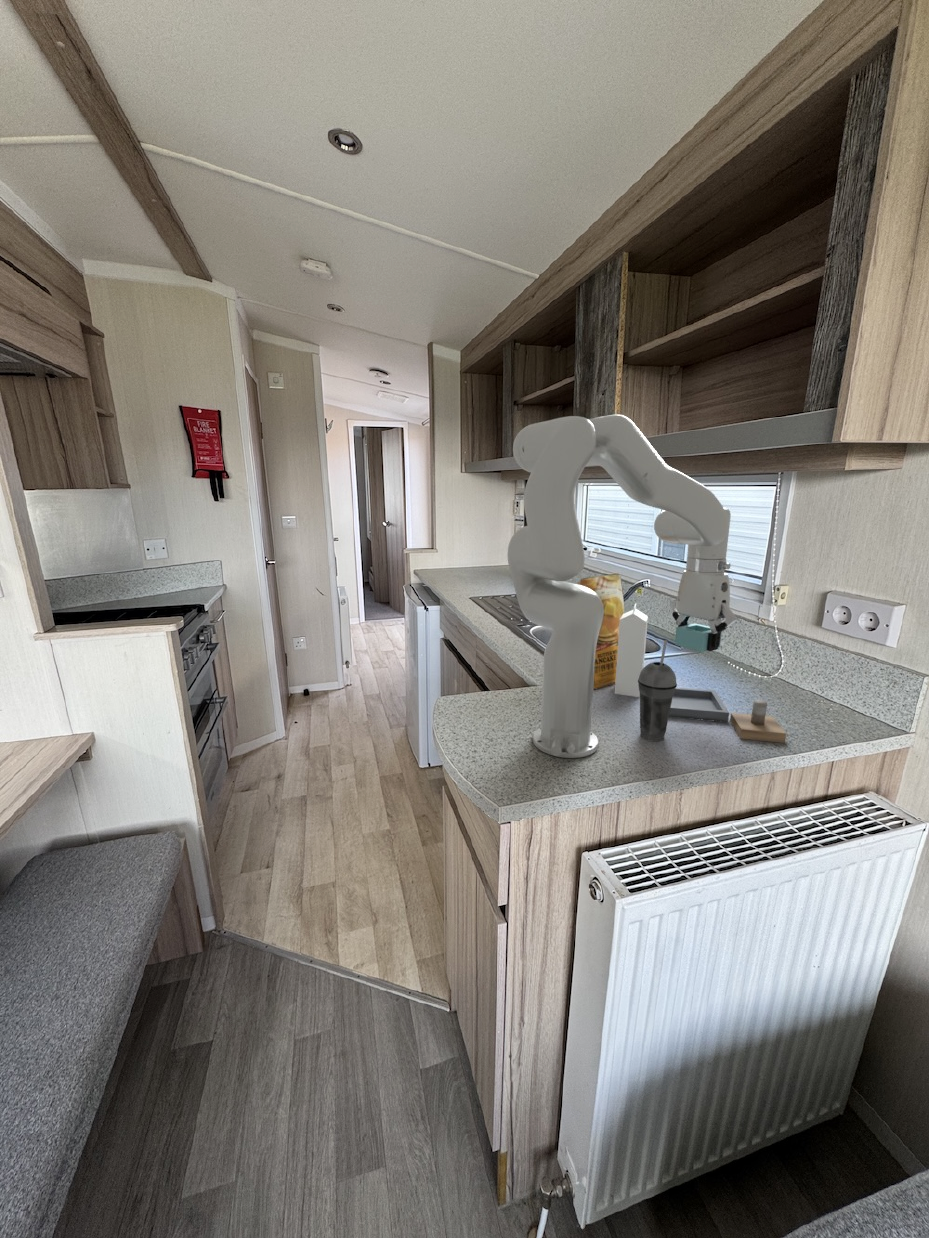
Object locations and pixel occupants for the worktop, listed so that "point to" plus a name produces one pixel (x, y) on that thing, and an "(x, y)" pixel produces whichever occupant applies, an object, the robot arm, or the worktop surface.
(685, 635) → the collar
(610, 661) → the pancake mix bag
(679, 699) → the tray
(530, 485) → the robot arm
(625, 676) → the milk
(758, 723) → the wooden peg base
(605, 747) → the worktop surface
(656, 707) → the beverage cup
